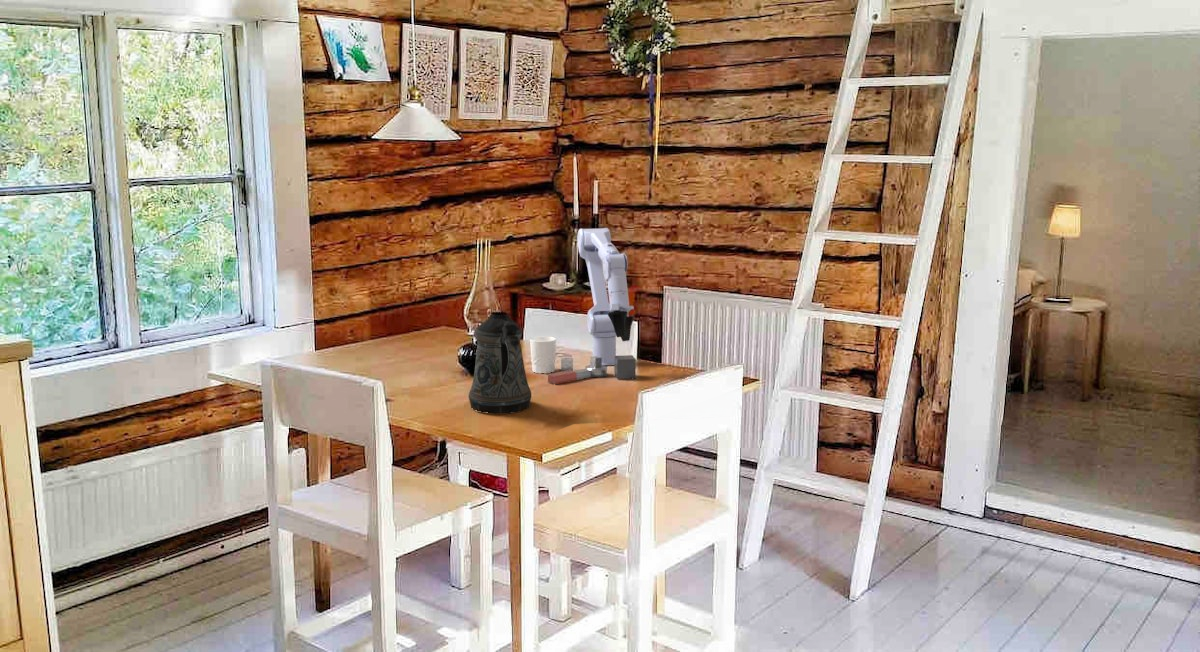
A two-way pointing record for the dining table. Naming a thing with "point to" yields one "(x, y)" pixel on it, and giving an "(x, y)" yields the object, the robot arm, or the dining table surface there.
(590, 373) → the ratchet
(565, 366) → the socket
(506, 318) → the beer stein
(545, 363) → the white cup
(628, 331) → the robot arm
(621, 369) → the brushed steel cube
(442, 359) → the dining table surface
